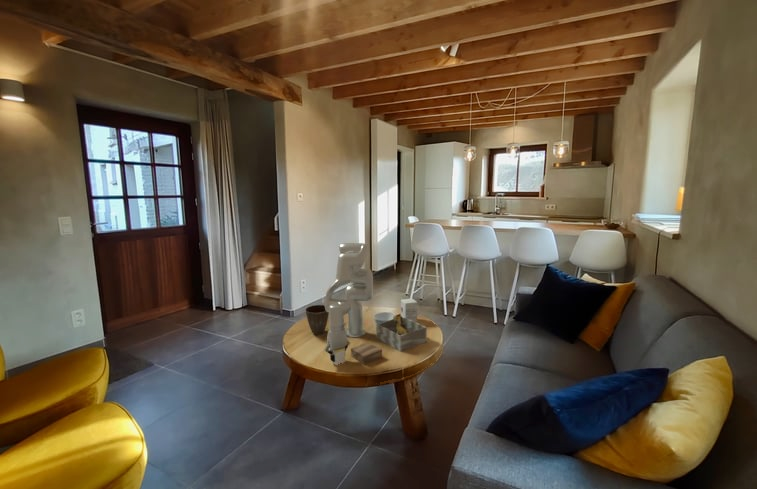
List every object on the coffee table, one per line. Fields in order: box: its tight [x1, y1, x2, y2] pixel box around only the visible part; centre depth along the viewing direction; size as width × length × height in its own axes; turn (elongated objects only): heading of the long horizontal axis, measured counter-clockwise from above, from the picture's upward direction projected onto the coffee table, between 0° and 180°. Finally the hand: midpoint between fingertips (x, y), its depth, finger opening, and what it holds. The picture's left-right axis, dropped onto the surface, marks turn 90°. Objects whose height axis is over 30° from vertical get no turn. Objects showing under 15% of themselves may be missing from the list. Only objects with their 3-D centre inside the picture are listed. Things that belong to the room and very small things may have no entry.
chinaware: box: [373, 311, 396, 324], centre depth 226 cm, size 15×15×8 cm
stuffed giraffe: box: [393, 313, 407, 335], centre depth 206 cm, size 16×18×16 cm
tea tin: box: [333, 347, 346, 366], centre depth 181 cm, size 6×6×8 cm
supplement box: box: [400, 297, 418, 323], centre depth 235 cm, size 9×9×15 cm
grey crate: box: [375, 317, 428, 352], centre depth 207 cm, size 23×21×9 cm
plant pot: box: [305, 304, 329, 335], centre depth 218 cm, size 15×15×16 cm
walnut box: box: [350, 342, 383, 366], centre depth 186 cm, size 12×12×5 cm
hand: (338, 359), depth 181 cm, fingers closed on tea tin, 5 cm apart
